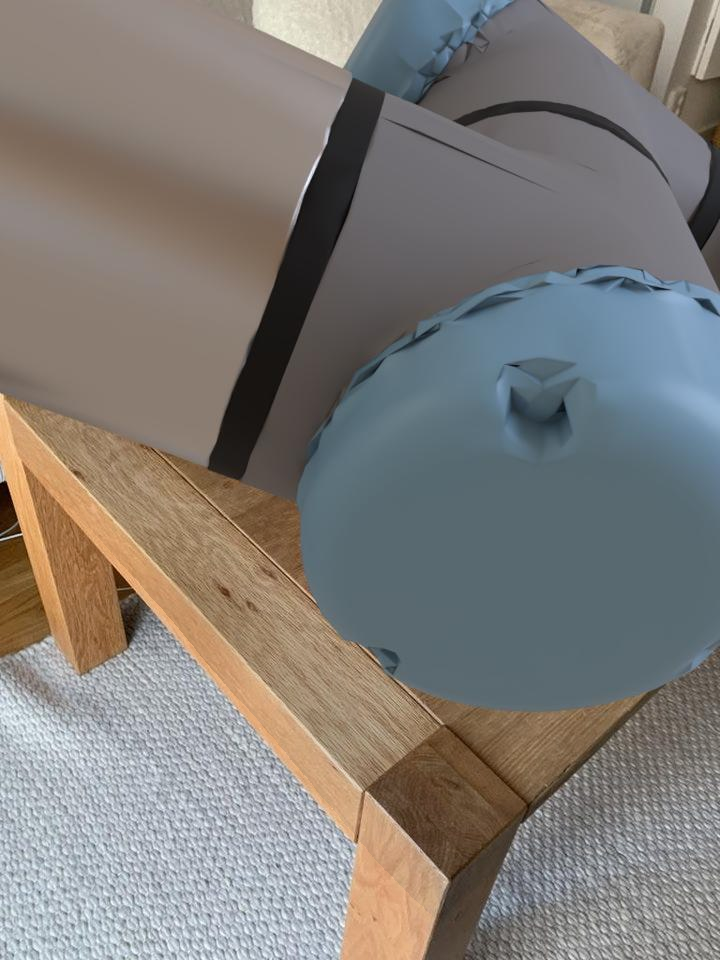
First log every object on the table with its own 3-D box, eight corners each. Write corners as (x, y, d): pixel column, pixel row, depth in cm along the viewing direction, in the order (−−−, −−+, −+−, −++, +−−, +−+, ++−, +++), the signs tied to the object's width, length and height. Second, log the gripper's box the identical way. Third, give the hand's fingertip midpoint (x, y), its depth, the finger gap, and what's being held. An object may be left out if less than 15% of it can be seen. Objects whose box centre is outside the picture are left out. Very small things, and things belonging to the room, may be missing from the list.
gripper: (410, 517, 34) (262, 536, 55) (734, 411, 41) (493, 464, 62) (359, 342, 34) (231, 429, 55) (693, 267, 41) (466, 369, 62)
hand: (370, 447), depth 59 cm, fingers closed on figurine, 6 cm apart
